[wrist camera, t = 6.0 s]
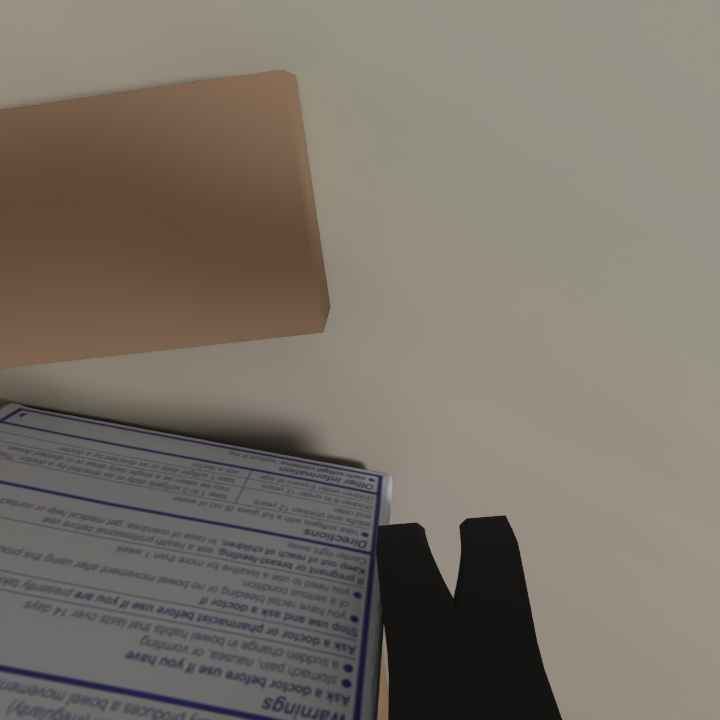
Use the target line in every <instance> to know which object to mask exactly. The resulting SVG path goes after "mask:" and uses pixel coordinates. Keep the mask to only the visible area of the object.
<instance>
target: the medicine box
mask: <svg viewBox="0 0 720 720" xmlns="http://www.w3.org/2000/svg"><path fill="white" fill-rule="evenodd" d="M391 496H392V478H391V476H390V475H388V474H386V473H382V472H376V471H370V470H364V469H359V468H353V467H348V466H342V465H337V464H331V463H326V462H320V461H315V460H309V459H304V458H298V457H293V456H287V455H282V454H277V453H271V452H266V451H261V450H255V449H250V448H244V447H238V446H233V445H227V444H222V443H216V442H211V441H206V440H202V439H197V438H190V437H184V436H180V435H174V434H168V433H163V432H157V431H152V430H146V429H141V428H136V427H130V426H125V425H120V424H115V423H109V422H104V421H98V420H93V419H87V418H82V417H76V416H71V415H65V414H60V413H54V412H49V411H43V410H38V409H33V408H28V407H25V406H23V405H20V404H15V403H8V404H6V405H4V406H3V407H1V408H0V720H377V716H378V700H379V685H380V670H381V655H382V641H383V626H384V619H383V610H382V602H381V593H380V585H379V577H378V568H377V560H376V544H377V533H378V526H381V525H389V519H390V508H391Z"/></svg>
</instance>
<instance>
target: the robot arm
mask: <svg viewBox="0 0 720 720" xmlns="http://www.w3.org/2000/svg"><path fill="white" fill-rule="evenodd" d="M460 538H461V558H460V566H459V574H458V580H457V585H456V589H455V594H454V599H453V597H452V595H451V593H450V592H449V590H448V588H447V586H446V584H445V582H444V580H443V578H442V576H441V574H440V571H439V569H438V567H437V565H436V563H435V560H434V558H433V556H432V553H431V550H430V548H429V545H428V542H427V538H426V534H425V529H424V528H423V527H422V526H421V525H419V524H418V523H406V524H394V525H381V526H378V533H377V544H376V560H377V568H378V577H379V585H380V593H381V602H382V610H383V619H384V627H385V635H386V644H387V652H388V669H389V705H388V720H562V718H561V715H560V712H559V709H558V707H557V704H556V701H555V698H554V695H553V692H552V690H551V687H550V684H549V681H548V678H547V675H546V672H545V669H544V666H543V662H542V658H541V655H540V651H539V647H538V643H537V638H536V633H535V628H534V623H533V618H532V612H531V607H530V602H529V597H528V592H527V587H526V581H525V576H524V571H523V566H522V561H521V556H520V551H519V546H518V542H517V540H516V537H515V535H514V532H513V530H512V528H511V526H510V524H509V522H508V520H507V518H506V516H493V517H481V518H468V519H466V520H465V521H464V522H462V523H461V524H460Z"/></svg>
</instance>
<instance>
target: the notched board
mask: <svg viewBox="0 0 720 720" xmlns="http://www.w3.org/2000/svg"><path fill="white" fill-rule="evenodd" d="M329 310H330V302H329V296H328V289H327V282H326V275H325V269H324V262H323V255H322V249H321V242H320V235H319V228H318V222H317V215H316V208H315V202H314V195H313V188H312V182H311V175H310V168H309V161H308V155H307V148H306V141H305V135H304V128H303V121H302V114H301V108H300V101H299V94H298V88H297V81H296V76H295V75H293V74H291V73H289V72H286V71H284V70H277V71H270V72H263V73H256V74H249V75H242V76H235V77H228V78H221V79H214V80H207V81H200V82H193V83H186V84H179V85H173V86H166V87H159V88H152V89H145V90H138V91H131V92H124V93H117V94H110V95H103V96H96V97H89V98H82V99H75V100H68V101H61V102H54V103H47V104H40V105H33V106H26V107H19V108H12V109H5V110H0V368H8V367H17V366H26V365H35V364H44V363H53V362H62V361H71V360H80V359H89V358H98V357H107V356H116V355H125V354H134V353H143V352H152V351H161V350H170V349H179V348H188V347H197V346H206V345H215V344H224V343H233V342H242V341H251V340H260V339H269V338H277V337H286V336H295V335H304V334H313V333H322V332H324V328H325V324H326V321H327V317H328V313H329ZM388 705H389V698H388V691H387V684H386V678H385V671H384V664H383V658H382V655H381V670H380V685H379V700H378V716H377V720H388Z"/></svg>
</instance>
